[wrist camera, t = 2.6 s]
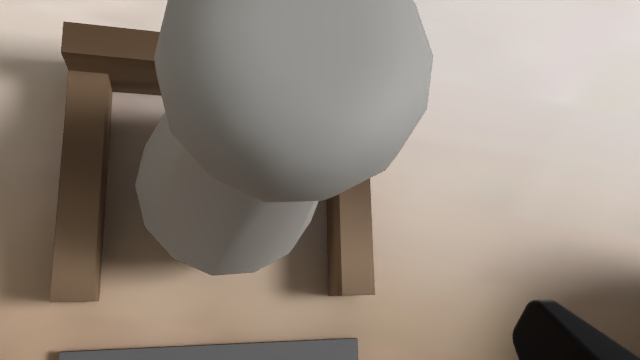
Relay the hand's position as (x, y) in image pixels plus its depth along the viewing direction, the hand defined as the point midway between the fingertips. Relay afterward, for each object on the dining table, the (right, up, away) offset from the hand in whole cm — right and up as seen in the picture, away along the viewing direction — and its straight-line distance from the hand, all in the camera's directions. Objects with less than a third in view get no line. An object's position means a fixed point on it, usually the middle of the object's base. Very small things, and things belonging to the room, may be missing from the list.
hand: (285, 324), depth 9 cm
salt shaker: (-3, +2, +11) cm, 12 cm away
